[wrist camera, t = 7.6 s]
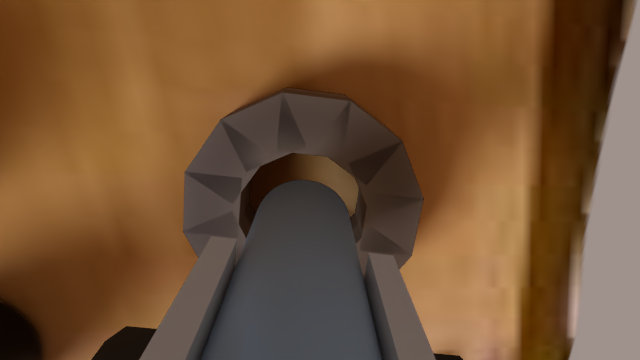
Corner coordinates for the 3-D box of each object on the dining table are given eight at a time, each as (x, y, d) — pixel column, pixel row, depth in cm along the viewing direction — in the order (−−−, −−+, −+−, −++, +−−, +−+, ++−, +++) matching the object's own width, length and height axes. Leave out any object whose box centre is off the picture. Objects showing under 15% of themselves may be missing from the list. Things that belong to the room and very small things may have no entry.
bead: (206, 77, 19) (187, 80, 16) (422, 104, 19) (441, 112, 16) (198, 272, 22) (181, 305, 19) (386, 291, 22) (397, 326, 19)
